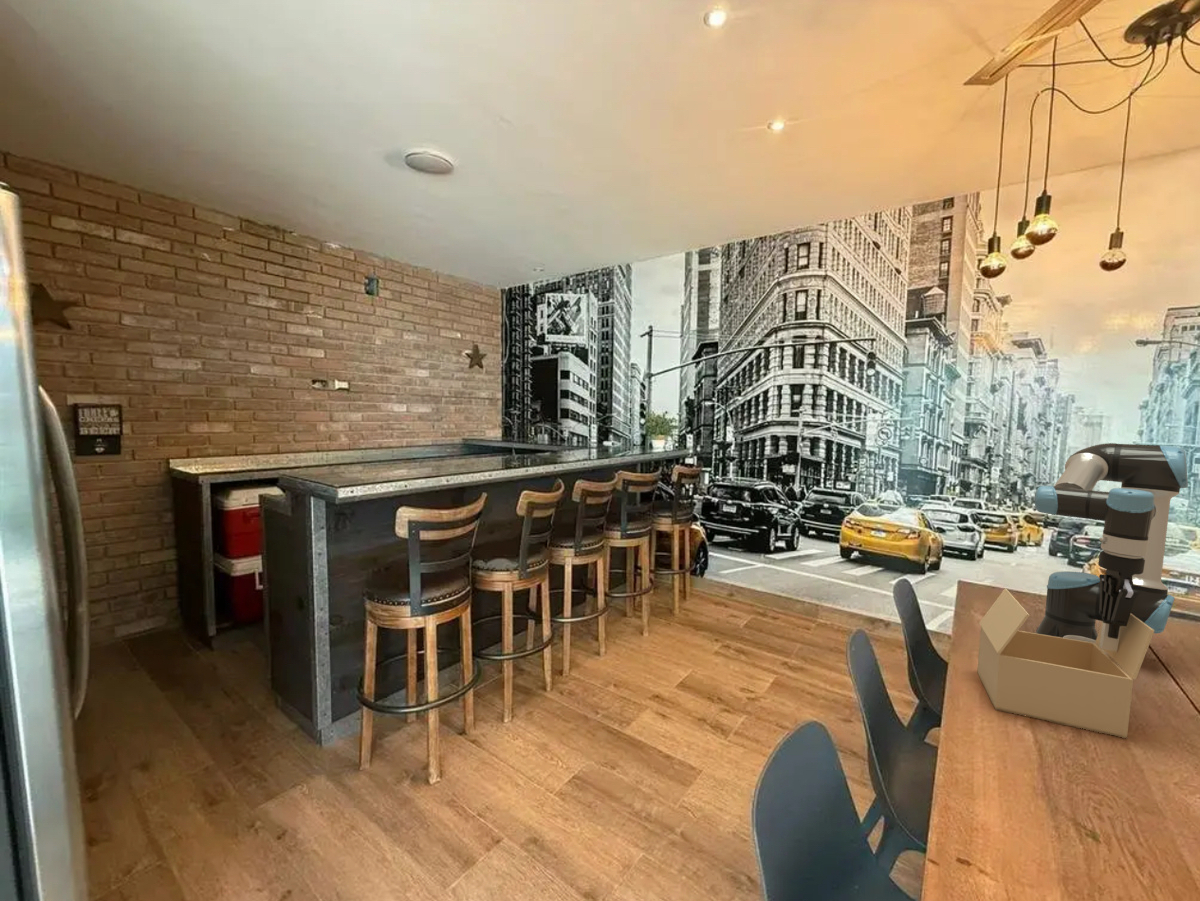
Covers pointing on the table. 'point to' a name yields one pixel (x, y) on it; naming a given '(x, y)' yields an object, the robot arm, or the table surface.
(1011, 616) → the far flap
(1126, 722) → the carton
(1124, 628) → the near flap
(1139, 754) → the table surface
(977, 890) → the table surface
